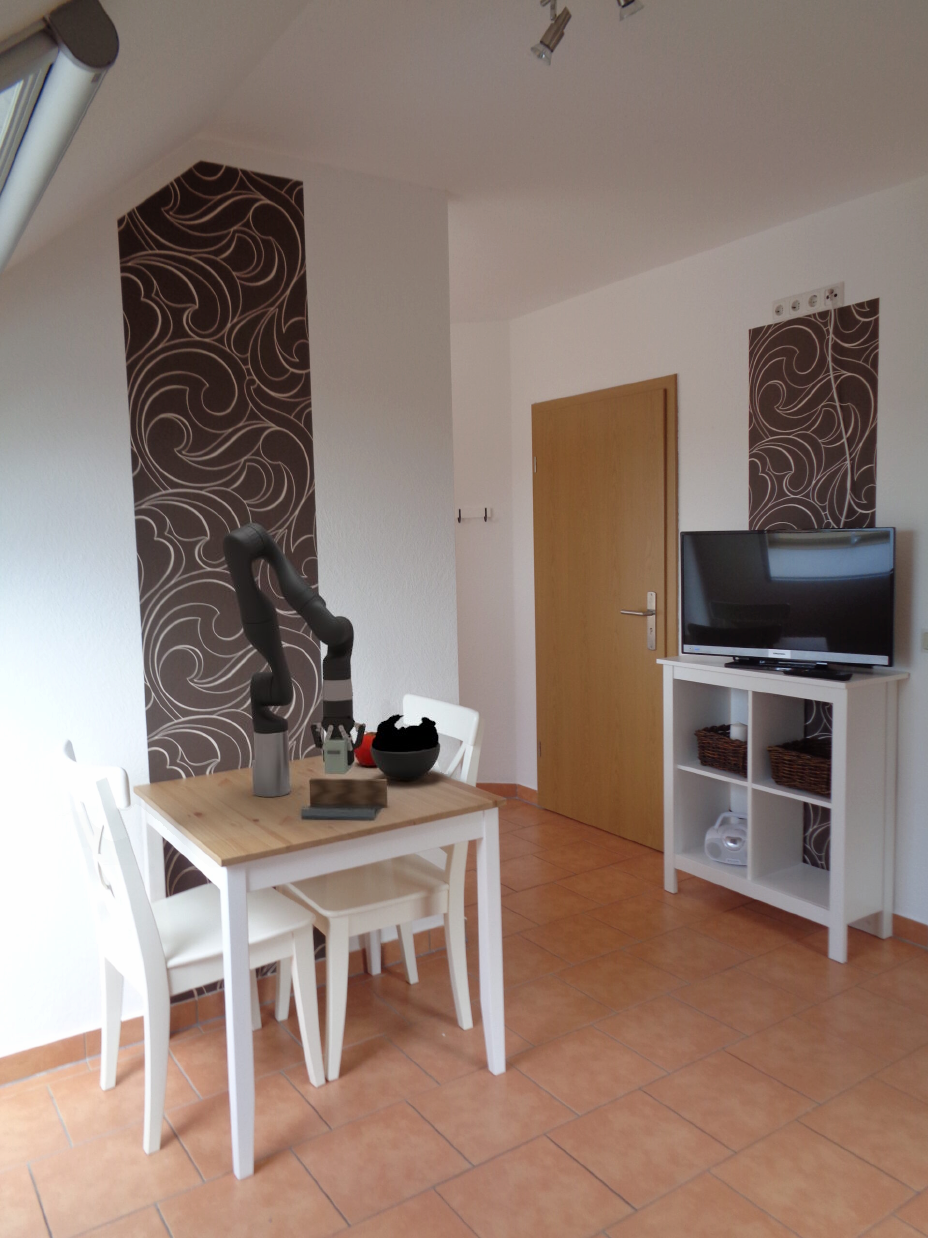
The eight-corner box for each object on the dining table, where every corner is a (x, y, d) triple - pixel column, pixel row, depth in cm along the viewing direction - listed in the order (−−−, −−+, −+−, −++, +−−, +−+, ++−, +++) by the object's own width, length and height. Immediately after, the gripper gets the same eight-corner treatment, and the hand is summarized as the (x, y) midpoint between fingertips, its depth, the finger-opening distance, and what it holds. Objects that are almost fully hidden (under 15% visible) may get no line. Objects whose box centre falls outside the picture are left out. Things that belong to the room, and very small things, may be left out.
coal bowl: (358, 778, 262) (356, 714, 260) (416, 768, 273) (414, 706, 272) (395, 792, 246) (393, 724, 244) (454, 780, 257) (453, 715, 256)
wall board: (310, 806, 234) (309, 779, 233) (311, 805, 235) (310, 778, 235) (386, 807, 231) (385, 780, 231) (387, 806, 233) (386, 779, 232)
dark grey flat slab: (301, 819, 223) (301, 809, 222) (313, 806, 234) (313, 797, 233) (373, 820, 221) (373, 810, 220) (382, 807, 231) (382, 798, 231)
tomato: (358, 760, 285) (357, 727, 285) (394, 760, 284) (393, 727, 283) (350, 769, 274) (349, 735, 273) (387, 769, 272) (386, 735, 272)
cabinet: (323, 774, 221) (322, 742, 221) (333, 766, 230) (332, 735, 229) (343, 775, 221) (342, 742, 220) (352, 766, 229) (352, 735, 229)
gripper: (304, 699, 222) (306, 767, 223) (361, 699, 220) (363, 768, 221) (313, 694, 229) (315, 761, 230) (369, 695, 227) (370, 761, 228)
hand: (339, 764), depth 226 cm, fingers closed on cabinet, 5 cm apart
